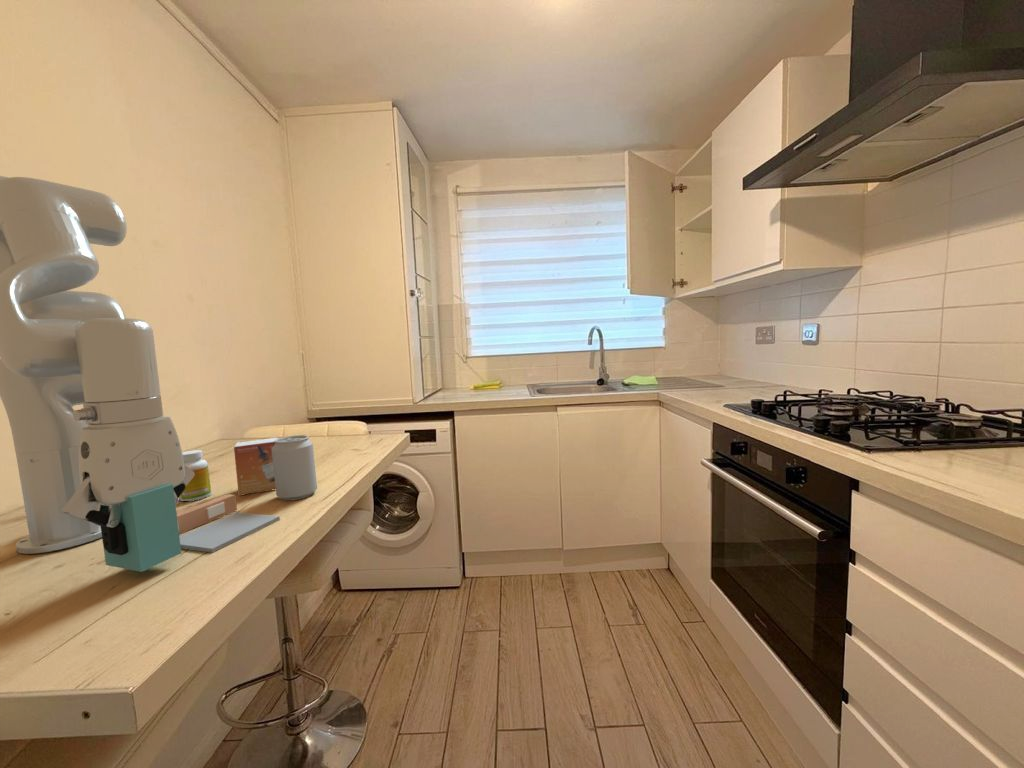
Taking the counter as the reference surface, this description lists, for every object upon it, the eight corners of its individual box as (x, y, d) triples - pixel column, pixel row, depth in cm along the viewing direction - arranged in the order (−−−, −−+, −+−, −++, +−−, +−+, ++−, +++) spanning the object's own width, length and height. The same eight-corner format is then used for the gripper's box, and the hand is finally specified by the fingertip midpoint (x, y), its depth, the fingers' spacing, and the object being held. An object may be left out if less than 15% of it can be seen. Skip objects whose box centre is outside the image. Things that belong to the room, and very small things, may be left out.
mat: (166, 546, 66) (165, 542, 66) (237, 515, 78) (236, 512, 78) (212, 552, 63) (212, 548, 63) (279, 519, 74) (279, 516, 74)
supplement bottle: (216, 495, 90) (210, 450, 89) (186, 504, 86) (180, 456, 85) (204, 491, 93) (199, 448, 92) (175, 500, 88) (169, 454, 88)
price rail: (131, 549, 66) (129, 530, 66) (229, 509, 81) (227, 494, 81) (141, 550, 65) (139, 531, 65) (238, 510, 80) (236, 494, 80)
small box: (238, 496, 88) (232, 446, 87) (241, 489, 93) (235, 442, 92) (282, 488, 92) (276, 440, 91) (282, 482, 97) (277, 436, 96)
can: (306, 501, 83) (300, 440, 82) (268, 503, 83) (262, 442, 82) (324, 488, 91) (318, 432, 90) (289, 489, 91) (283, 434, 90)
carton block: (106, 564, 58) (95, 493, 57) (149, 546, 62) (140, 480, 61) (141, 571, 55) (131, 497, 54) (182, 552, 60) (174, 483, 59)
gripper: (59, 426, 48) (82, 580, 49) (209, 402, 64) (222, 519, 66) (19, 424, 50) (43, 571, 52) (174, 402, 66) (187, 515, 68)
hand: (143, 541), depth 59 cm, fingers closed on carton block, 5 cm apart
